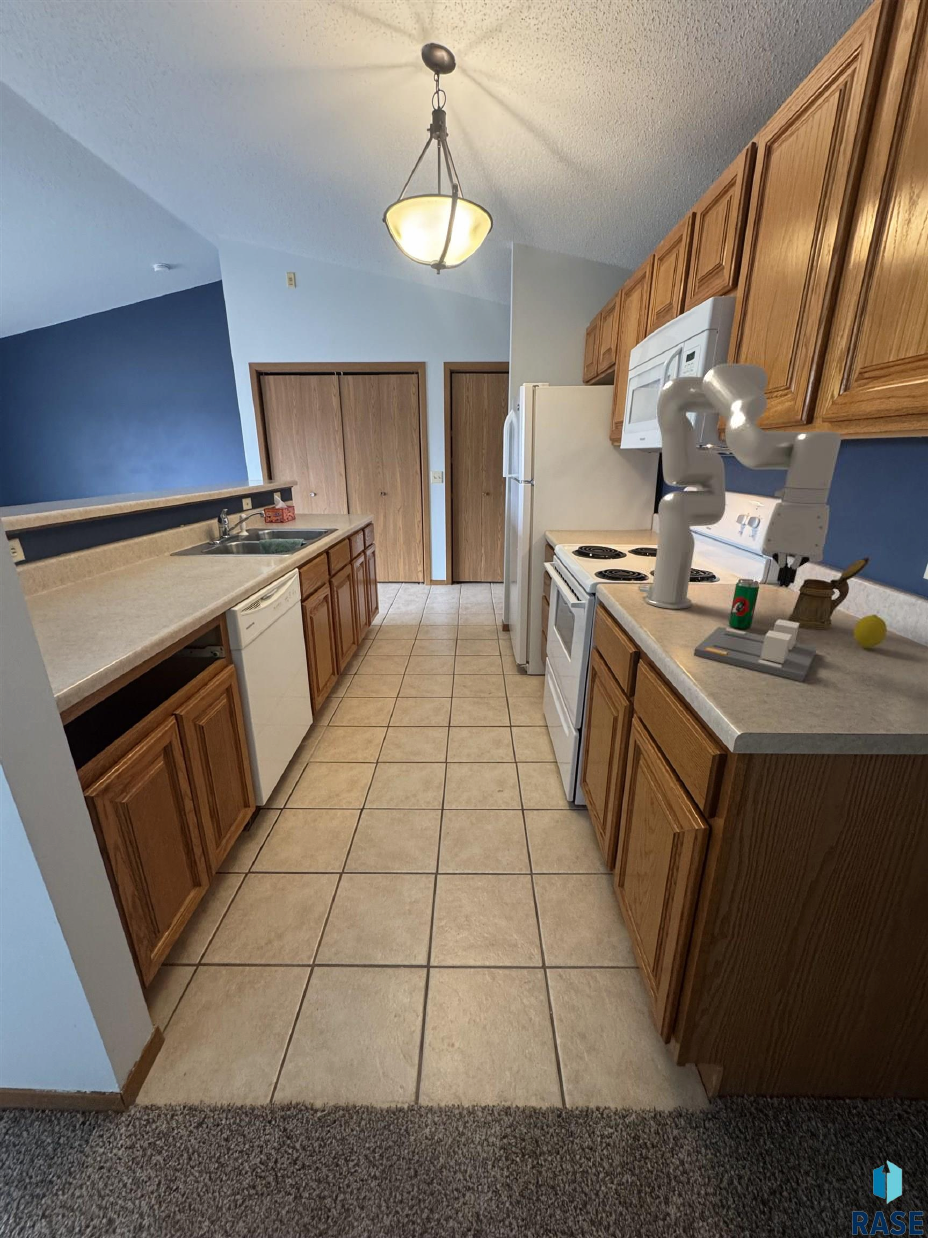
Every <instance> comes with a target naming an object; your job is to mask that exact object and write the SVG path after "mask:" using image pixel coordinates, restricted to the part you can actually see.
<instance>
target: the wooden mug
mask: <svg viewBox="0 0 928 1238" xmlns="http://www.w3.org/2000/svg"><path fill="white" fill-rule="evenodd" d="M869 562H870V557H864V558H861V559H858V560H856V561H854V562H852V563H851V564H850V565H848V566H847V568H845V569H844V570H843V572H842V573H841V575H840V577H839V578H838V579H834V578H833V579H830V581H826V580H822V579H815V578H807V579H804V580H803V583H802V584H801V585H800V587H799V589H798V590H799V594H798V597H797V599H796V602H795V605H794V608H793V609H792V610H793V611H792V612H791V613H790V614H789V616H788V619H787V621H791V622H796V623H800V624H799V628H803V629H809V630H817V631H819V630H828V629H830V628H831V626H832V619H831V617H832V615H833V613H834V612H835V610H836V609H837V608H838V607H839V606H840V605H841V604H842V603H843V602H844V601H845V600H846V598H847V596H848V594H849V592H850V591H849V590H850V587H849V583H848V580H851V579H852V578H854V577H856V576H857V575H859V574H860V573H861V572H863V570H864V569H865V568H866V567H867V566H868V564H869ZM835 590H837V591H838V592H839V595H838V596H837V597H836V598H834V599H833V596H834V595H835V594H836V591H835Z"/></svg>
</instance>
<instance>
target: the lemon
mask: <svg viewBox="0 0 928 1238" xmlns="http://www.w3.org/2000/svg"><path fill="white" fill-rule="evenodd" d="M886 635H887V624H886V622H885V620H883V618H881V617H880V616H878V615H876V614H871V615H866V616H864V617H862V618H860V619H859V620H858V621H857V623H856V624H855V626H854V628H853V637H854V638H853V639H854V640H855V641H856V643H857V644H859V645H861V647H862V648H863V649H869V648H872V647H875V646H878V645H880V644H881V643H882V642H884V640H885V638H886Z"/></svg>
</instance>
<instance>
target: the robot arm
mask: <svg viewBox="0 0 928 1238" xmlns="http://www.w3.org/2000/svg"><path fill="white" fill-rule="evenodd" d="M768 381H769V380H768V374H767V372H766V371H765V369H764V368H763V367H761V366H760V365H756V364H749V363H748V364H747V363H729V362H728V363H721V364H718V365H716V366H714V367H712V368H711V369H709V370H708V371H707V373H706V374H705V375H704V376H680V377H676V378H673V379H670V380H668V381H667V383H666V384H664V386H663V387H662V389H661V390H660V393H659V395H658V399H657V403H656V415H657V422H658V427H659V431H660V434H661V435H660V436H661V454H662V455H661V456H662V457H661V460H662V474H663V475H662V476H663V480H664V482H665V483H666V485H668V486H672V487H683V488H684V487H696V488H695V489H696V490H676V491H672V492H669V493H667V494H665V495H664V496H662V498H661V499H660V501H659V504H658V540H657V548H656V556H655V564H654V571H653V579H652V584H650V585H647V584H644V583H643V584H642V583H639V585H638V589H637V590H639V592H640V593H646V594H647V595H646V596H645V597H644V598H645V599H644V600H645V602H646V603H647V604H649V605H651V606H653V607H658V608H662V609H663V608H664V609H673V610H674V609H675V610H676V609H677V610H678V609H679V610H681V609H687V608H690V607H691V606H692V604H693V603H692V601H693V600H692V599H690V598H689V597H688V592H689V591H688V590H689V584H690V577H691V571H692V566H693V565H692V564H693V559H694V551H695V537H694V535H693V532H692V531H691V527H700V526H702V527H704V526H706V527H707V526H714V525H715V524H717V523H719V522H720V521H721V520H722V518H723V516H725V515H724V514H725V512H726V503H727V502H726V473H725V472H726V471H725V464H724V460H723V458H722V457H721V455H720V454H719V453H718V452H716V451H713V450H707V449H704V450H703V449H701V450H700V449H698V448H697V434H696V433H697V432H696V430H695V426H694V425H693V423H692V421H691V419H690V418H689V417H688V416H687V413H692V414H693V413H695V414H697V413H698V414H700V413H701V414H713V413H714V414H716V413H719V414H720V416H721V417H722V418H723V419H724V420H725V422H726V426H725V430H724V431H725V443H726V445H727V448H728V450H729V451H730V452H731V453H732V454H733V456H734V457H735V458H736V460H737V461H739V462H740V463H741V465H743V466H744V467H746V468H749V469H750V470H751V469H752V470H787V474H786V478H785V484H784V487H783V488H781V489H776V490H775V491H774V497H777V498H779V499H780V502H777V503H776V504H775V505H774V508H773V511H772V514H771V516H770V519H769V522H768V526H767V529H766V534H765V538H764V541H763V542H764V543H763V549H762V551H761V555H763V556H765V557H767V558H772V559H773V560H774V562H775V563H776V564H777V566H778V567H779V570H778V573H777V578H776V582H779V586H778V587H781V588H782V587H784V588H789V587H790V585H791V584H794V583H795V580H796V575H797V572H798V569H799V568H800V567H802V566H804V565H805V564H807V563H819V562H822V560H823V550H824V547H825V544H826V541H827V534H828V528H829V521H830V520H829V519H830V505H828V504H827V500H828V496H829V494H830V488H831V484H832V480H833V475H834V473H835V467H836V463H837V458H838V454H839V450H840V447H841V441H842V436H841V434H840V433H839V432H836V431H827V430H826V431H824V430H823V431H818V430H817V431H816V430H815V431H786V430H784V431H783V430H763V429H762V428H761V427H759V425H758V424H757V423H756V422H757V421H758V420H759V419H760V418H761V417H762V416H763V415H764V413H765V411H766V409H767V406H768V398H767V396H766V394H765V392H766V390H767V387H768ZM788 555H792V556H794V558H793V561H792V563H791V564H790V566H789V563H788V558H789V557H788Z"/></svg>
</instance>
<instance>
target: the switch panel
mask: <svg viewBox="0 0 928 1238" xmlns="http://www.w3.org/2000/svg"><path fill="white" fill-rule="evenodd" d="M764 639H765V635H760V634H756V633H750V632H746V631H743V630H739V629H734V628H733V629H732V628H726V627H722V626H718V627H716V629H714V630H713V631H712V632H711V633H710V634H709V635H708V636H707V637H706V638H705V639H704V640H703V641H702V642H700V643H699V644H698V645H696V646H695V648H694V651H693V656H696V657H701V658H704V659H707V660H708V659H709V660H713V661H717V662H720V663H725V664H728V665H734V666H736V667H742V668H745V669H748V670H753V671H757V672H762V673H765V674H770V675H772V676H773V675H774V676H777V677H782V678H786V679H790V680H793V681H798V682H804V679H805V678H806V675H807V673H808V671H809V670H810V667H811V665H812V662H813V660H814V659H815V656H816V654H817V651H818V646H813V645H810V644H809V645H808V644H803V643H799V642H796V641H795V645H794V646H793V648H792V650H789V649H788V654H787V658H786V659H785V661H784V663H783V664H782V663H778V662H774V661H770V660H765V659H761V653H762V648H763V644H764Z"/></svg>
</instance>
